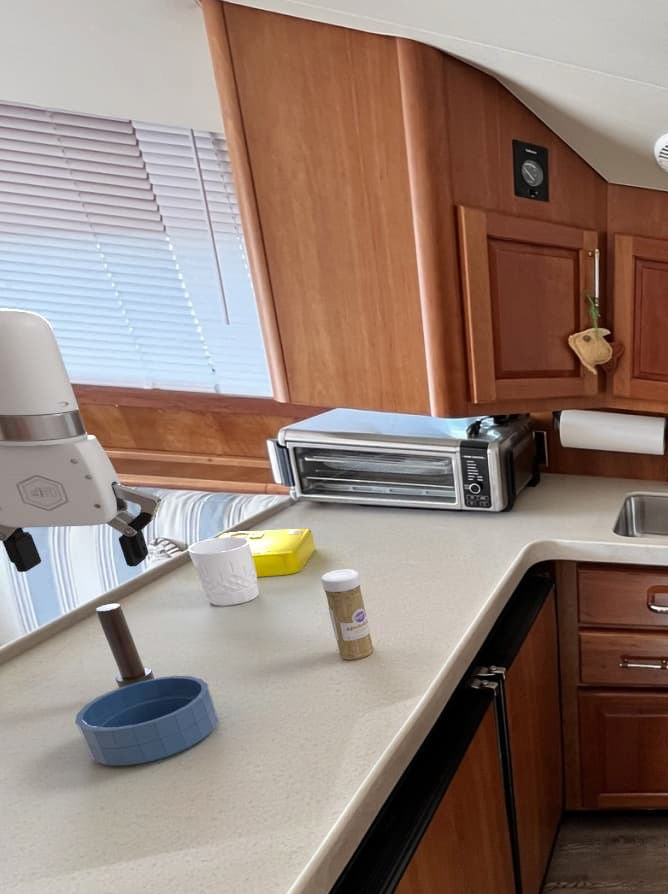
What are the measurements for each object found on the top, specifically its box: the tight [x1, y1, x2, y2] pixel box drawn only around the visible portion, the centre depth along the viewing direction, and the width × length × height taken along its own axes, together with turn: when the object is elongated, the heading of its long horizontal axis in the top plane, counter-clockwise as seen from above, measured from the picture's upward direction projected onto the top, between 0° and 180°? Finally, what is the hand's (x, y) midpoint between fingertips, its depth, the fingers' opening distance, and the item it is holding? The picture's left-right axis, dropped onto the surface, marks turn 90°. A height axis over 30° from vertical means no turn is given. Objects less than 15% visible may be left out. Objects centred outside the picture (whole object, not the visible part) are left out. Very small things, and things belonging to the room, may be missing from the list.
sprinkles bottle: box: [321, 568, 375, 661], centre depth 96 cm, size 5×5×13 cm
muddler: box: [95, 603, 155, 688], centre depth 83 cm, size 3×3×13 cm
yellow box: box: [217, 528, 316, 578], centre depth 123 cm, size 15×15×5 cm
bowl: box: [74, 675, 219, 766], centre depth 77 cm, size 11×11×6 cm
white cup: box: [187, 537, 260, 607], centre depth 109 cm, size 8×8×10 cm
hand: (85, 564), depth 78 cm, fingers open, 9 cm apart
